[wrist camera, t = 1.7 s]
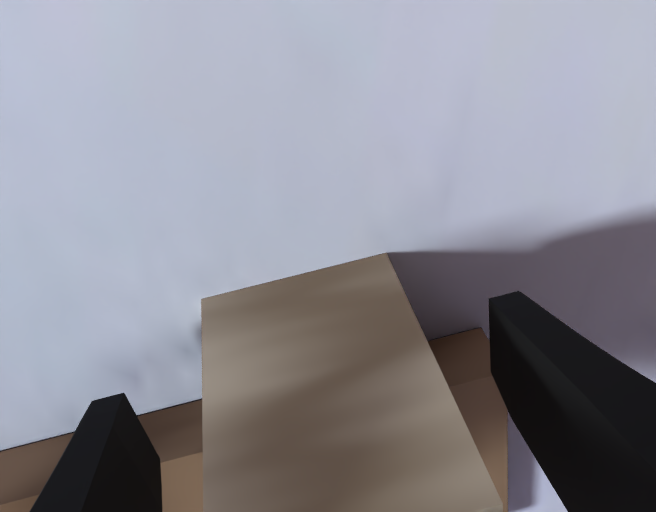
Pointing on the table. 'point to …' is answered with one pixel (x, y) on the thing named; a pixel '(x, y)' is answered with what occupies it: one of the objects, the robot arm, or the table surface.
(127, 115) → the table surface
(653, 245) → the table surface
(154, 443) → the walnut board
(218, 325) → the marking gauge
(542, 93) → the table surface
